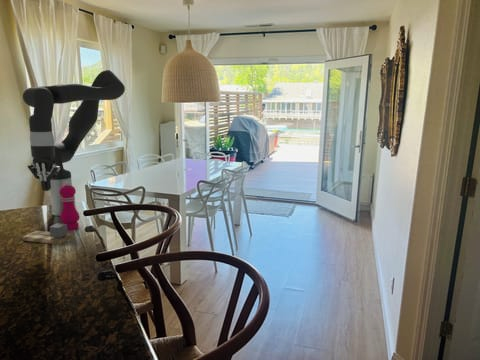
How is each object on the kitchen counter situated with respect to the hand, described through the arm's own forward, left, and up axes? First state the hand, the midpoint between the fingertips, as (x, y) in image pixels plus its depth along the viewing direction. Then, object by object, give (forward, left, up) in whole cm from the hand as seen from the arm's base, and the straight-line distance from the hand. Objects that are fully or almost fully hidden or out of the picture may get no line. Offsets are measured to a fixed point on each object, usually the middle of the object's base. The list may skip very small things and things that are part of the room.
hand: (46, 190), depth 131 cm
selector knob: (-1, +3, -17) cm, 18 cm away
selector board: (0, -2, -20) cm, 20 cm away
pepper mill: (-13, -4, -20) cm, 24 cm away
